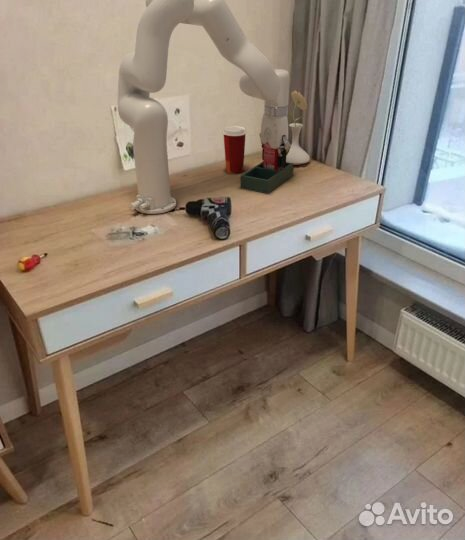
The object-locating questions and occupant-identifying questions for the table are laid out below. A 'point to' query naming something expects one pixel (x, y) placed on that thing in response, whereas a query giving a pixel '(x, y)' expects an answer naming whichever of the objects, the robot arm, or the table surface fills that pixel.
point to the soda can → (270, 157)
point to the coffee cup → (234, 148)
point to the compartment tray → (265, 178)
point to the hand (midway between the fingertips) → (273, 163)
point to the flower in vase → (297, 134)
